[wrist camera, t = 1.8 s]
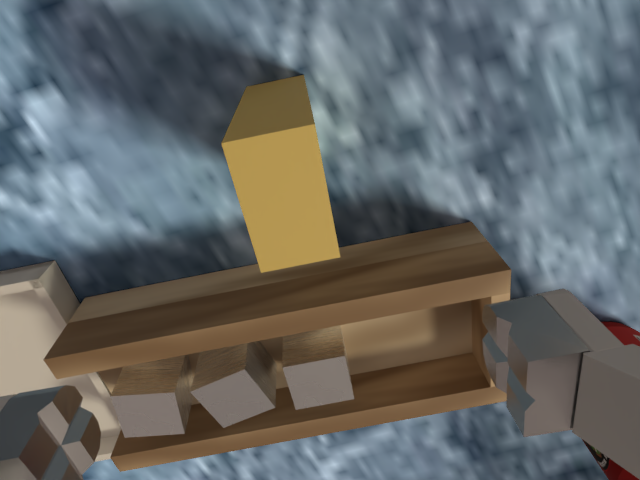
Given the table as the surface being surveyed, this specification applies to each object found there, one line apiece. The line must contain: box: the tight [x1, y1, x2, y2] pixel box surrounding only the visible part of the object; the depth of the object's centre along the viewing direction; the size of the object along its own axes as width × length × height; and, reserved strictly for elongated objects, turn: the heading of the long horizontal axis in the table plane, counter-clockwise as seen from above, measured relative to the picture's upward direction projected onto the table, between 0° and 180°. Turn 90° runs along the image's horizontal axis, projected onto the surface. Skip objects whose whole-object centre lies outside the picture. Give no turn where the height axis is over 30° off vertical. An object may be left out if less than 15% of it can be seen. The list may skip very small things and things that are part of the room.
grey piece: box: [190, 341, 277, 428], centre depth 26 cm, size 4×4×4 cm
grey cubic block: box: [282, 325, 354, 410], centre depth 26 cm, size 4×4×4 cm
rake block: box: [221, 75, 340, 273], centre depth 19 cm, size 5×3×10 cm, turn 11°
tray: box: [0, 260, 121, 462], centre depth 30 cm, size 16×14×2 cm
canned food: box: [582, 322, 640, 480], centre depth 29 cm, size 8×8×11 cm
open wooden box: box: [43, 222, 511, 472], centre depth 28 cm, size 10×25×6 cm, turn 101°
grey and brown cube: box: [110, 354, 193, 438], centre depth 27 cm, size 4×4×4 cm
